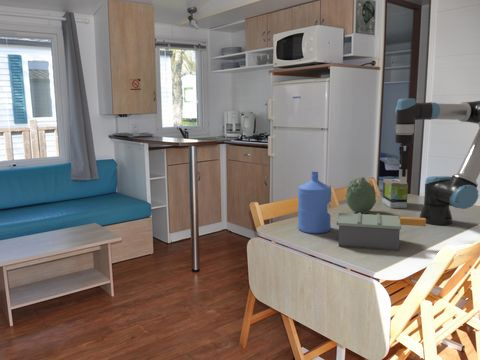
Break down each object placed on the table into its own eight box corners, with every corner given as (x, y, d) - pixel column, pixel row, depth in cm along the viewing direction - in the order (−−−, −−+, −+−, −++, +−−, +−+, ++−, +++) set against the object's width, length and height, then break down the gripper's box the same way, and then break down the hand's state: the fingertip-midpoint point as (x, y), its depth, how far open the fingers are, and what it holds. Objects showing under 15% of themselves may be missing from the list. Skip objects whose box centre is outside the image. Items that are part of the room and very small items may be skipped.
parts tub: (396, 239, 190) (397, 219, 188) (398, 250, 175) (399, 229, 173) (340, 235, 197) (341, 216, 195) (338, 246, 182) (339, 225, 180)
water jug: (309, 235, 197) (309, 175, 192) (291, 227, 211) (292, 171, 206) (337, 231, 203) (338, 173, 198) (318, 223, 217) (319, 168, 212)
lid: (422, 219, 186) (423, 213, 185) (427, 231, 170) (428, 224, 169) (338, 215, 196) (339, 209, 195) (336, 225, 180) (336, 219, 179)
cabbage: (379, 210, 239) (381, 175, 236) (369, 218, 224) (370, 181, 220) (352, 207, 248) (353, 173, 245) (340, 214, 233) (341, 178, 229)
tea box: (407, 208, 245) (408, 182, 242) (389, 208, 245) (391, 183, 243) (398, 202, 260) (399, 178, 257) (381, 202, 260) (382, 178, 257)
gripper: (395, 131, 202) (393, 176, 206) (396, 136, 179) (394, 185, 182) (412, 131, 200) (409, 176, 203) (415, 136, 176) (413, 186, 180)
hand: (402, 181), depth 193 cm, fingers open, 13 cm apart
